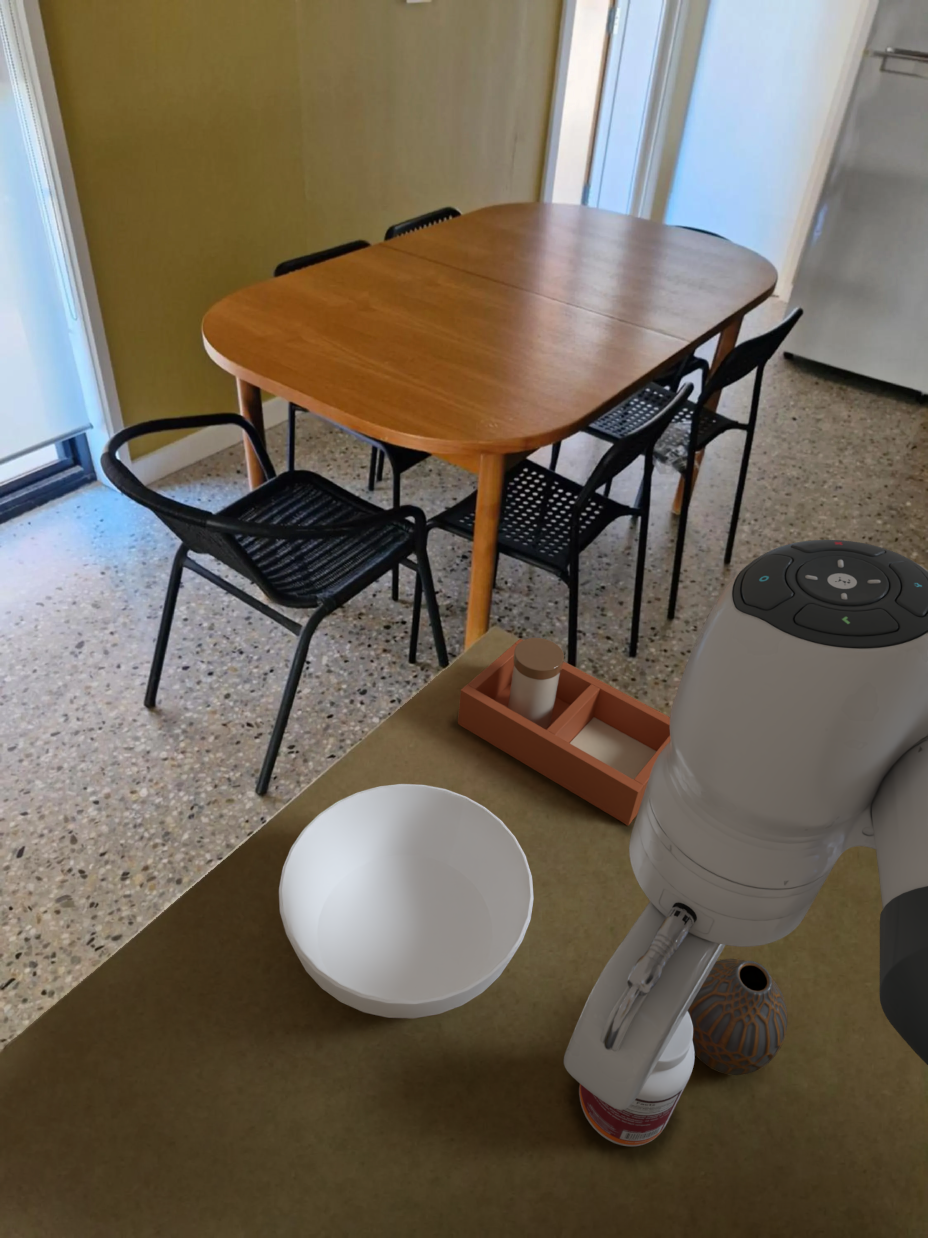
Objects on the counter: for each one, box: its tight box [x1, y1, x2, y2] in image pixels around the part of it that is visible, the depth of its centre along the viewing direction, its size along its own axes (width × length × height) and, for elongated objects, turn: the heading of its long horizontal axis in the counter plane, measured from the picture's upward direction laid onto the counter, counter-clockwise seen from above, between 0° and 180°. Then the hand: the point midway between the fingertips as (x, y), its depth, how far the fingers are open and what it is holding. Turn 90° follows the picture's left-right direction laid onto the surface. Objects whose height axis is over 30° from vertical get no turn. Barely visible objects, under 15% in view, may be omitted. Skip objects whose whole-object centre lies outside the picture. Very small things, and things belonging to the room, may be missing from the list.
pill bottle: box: [578, 1011, 695, 1147], centre depth 57 cm, size 6×6×11 cm
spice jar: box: [508, 637, 565, 729], centre depth 84 cm, size 5×5×8 cm
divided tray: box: [457, 638, 671, 826], centre depth 84 cm, size 10×19×5 cm, turn 53°
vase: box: [688, 958, 788, 1076], centre depth 61 cm, size 7×7×9 cm
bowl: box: [278, 783, 535, 1019], centre depth 66 cm, size 18×18×7 cm
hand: (663, 991), depth 51 cm, fingers open, 8 cm apart
